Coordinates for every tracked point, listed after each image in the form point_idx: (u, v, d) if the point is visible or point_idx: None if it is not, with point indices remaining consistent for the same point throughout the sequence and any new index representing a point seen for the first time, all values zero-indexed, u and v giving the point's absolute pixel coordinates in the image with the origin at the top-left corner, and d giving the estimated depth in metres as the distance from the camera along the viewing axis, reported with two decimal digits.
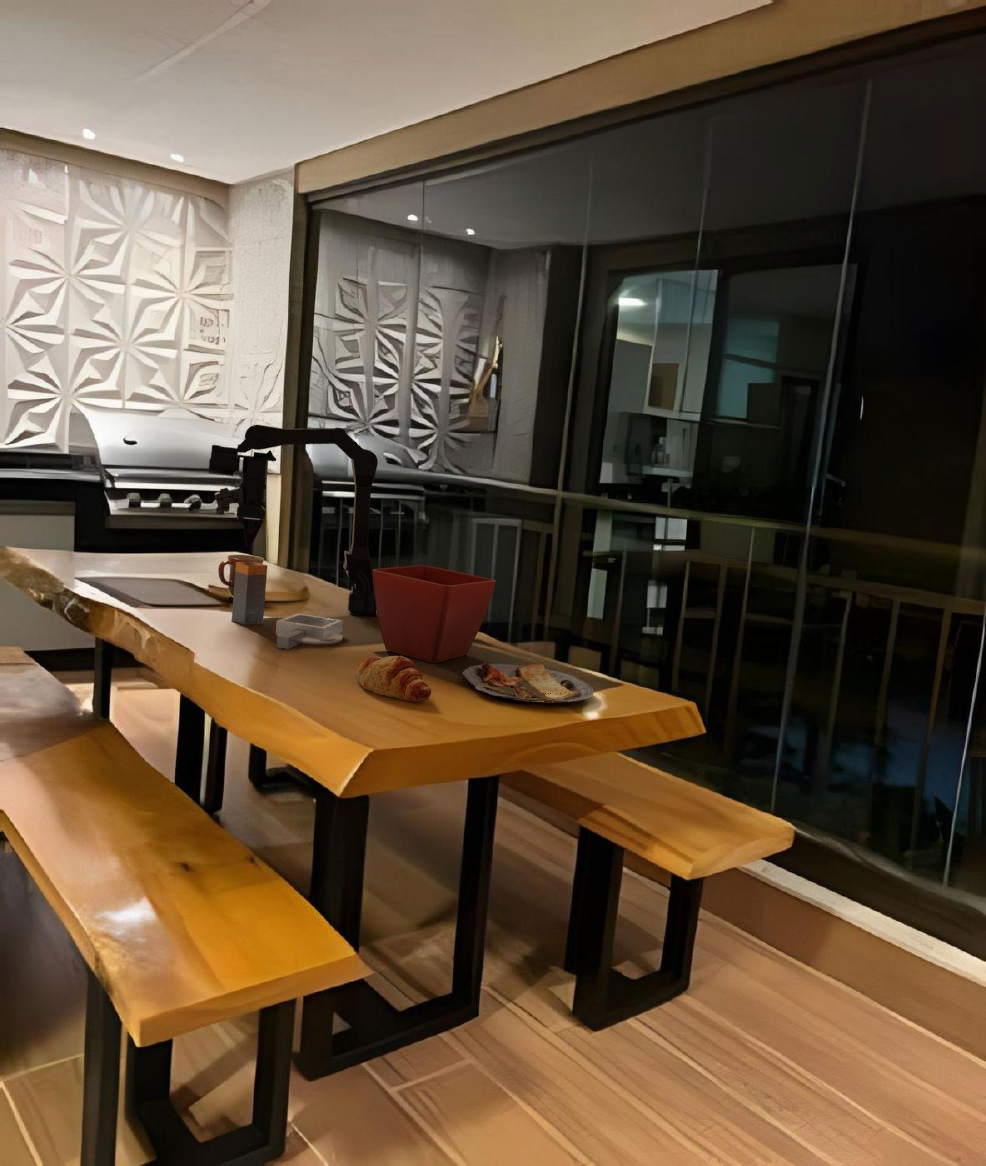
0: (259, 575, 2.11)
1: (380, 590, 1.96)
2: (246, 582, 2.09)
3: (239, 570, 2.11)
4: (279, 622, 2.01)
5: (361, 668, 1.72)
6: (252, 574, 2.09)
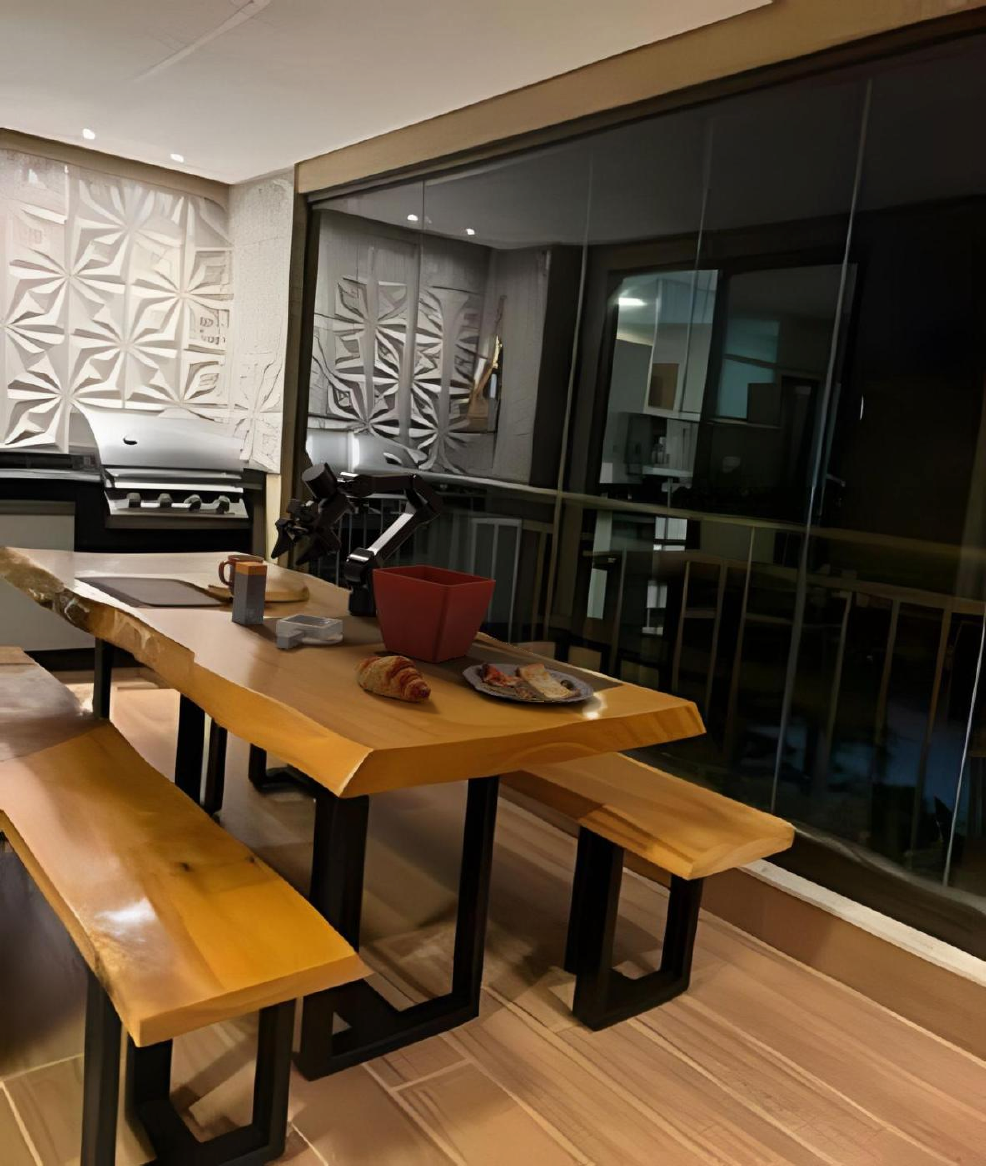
0: (259, 575, 2.11)
1: (380, 590, 1.96)
2: (246, 582, 2.09)
3: (239, 570, 2.11)
4: (279, 622, 2.01)
5: (361, 668, 1.72)
6: (252, 574, 2.09)
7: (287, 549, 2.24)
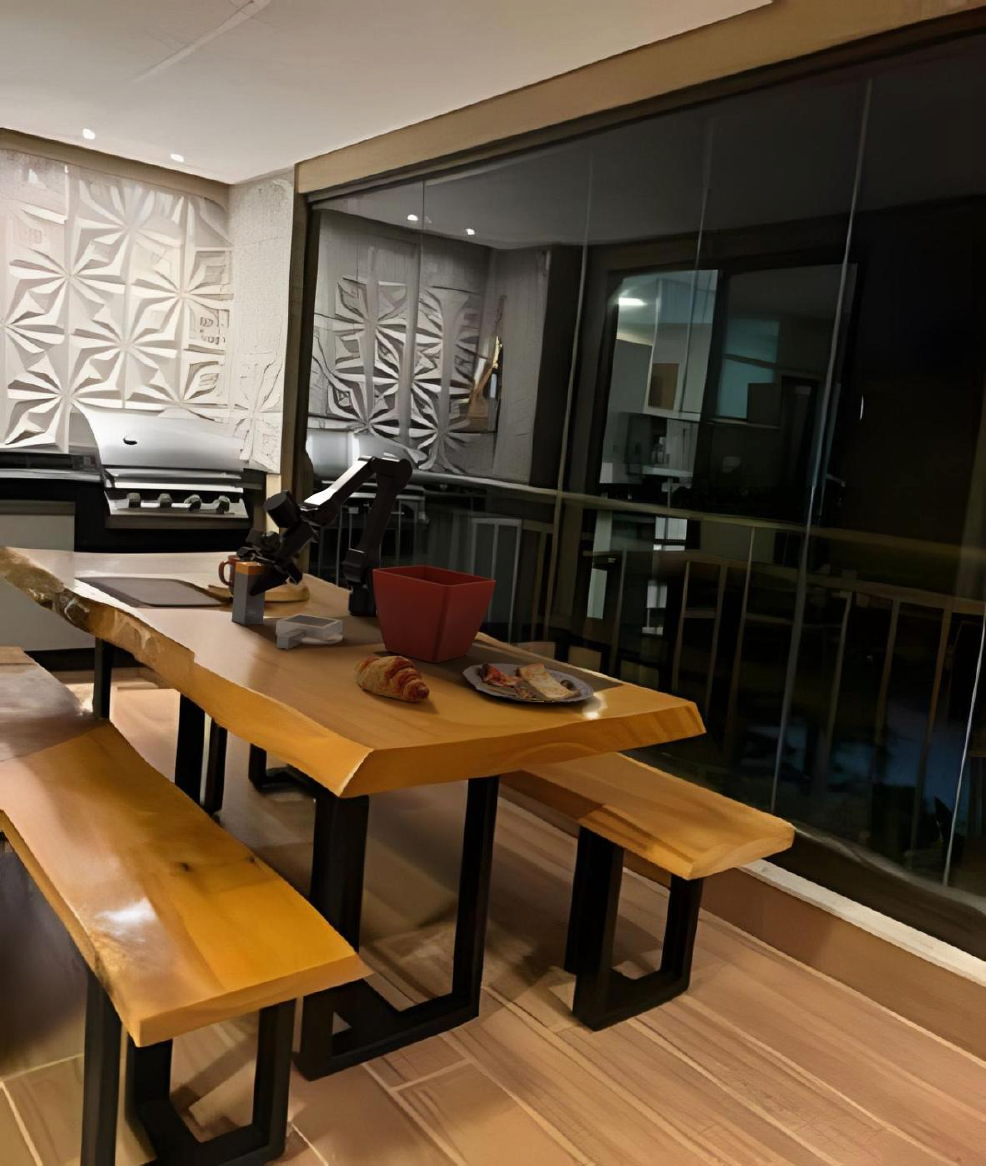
0: (259, 575, 2.11)
1: (380, 590, 1.96)
2: (246, 582, 2.09)
3: (239, 570, 2.11)
4: (279, 622, 2.01)
5: (360, 668, 1.72)
6: (252, 574, 2.09)
7: None
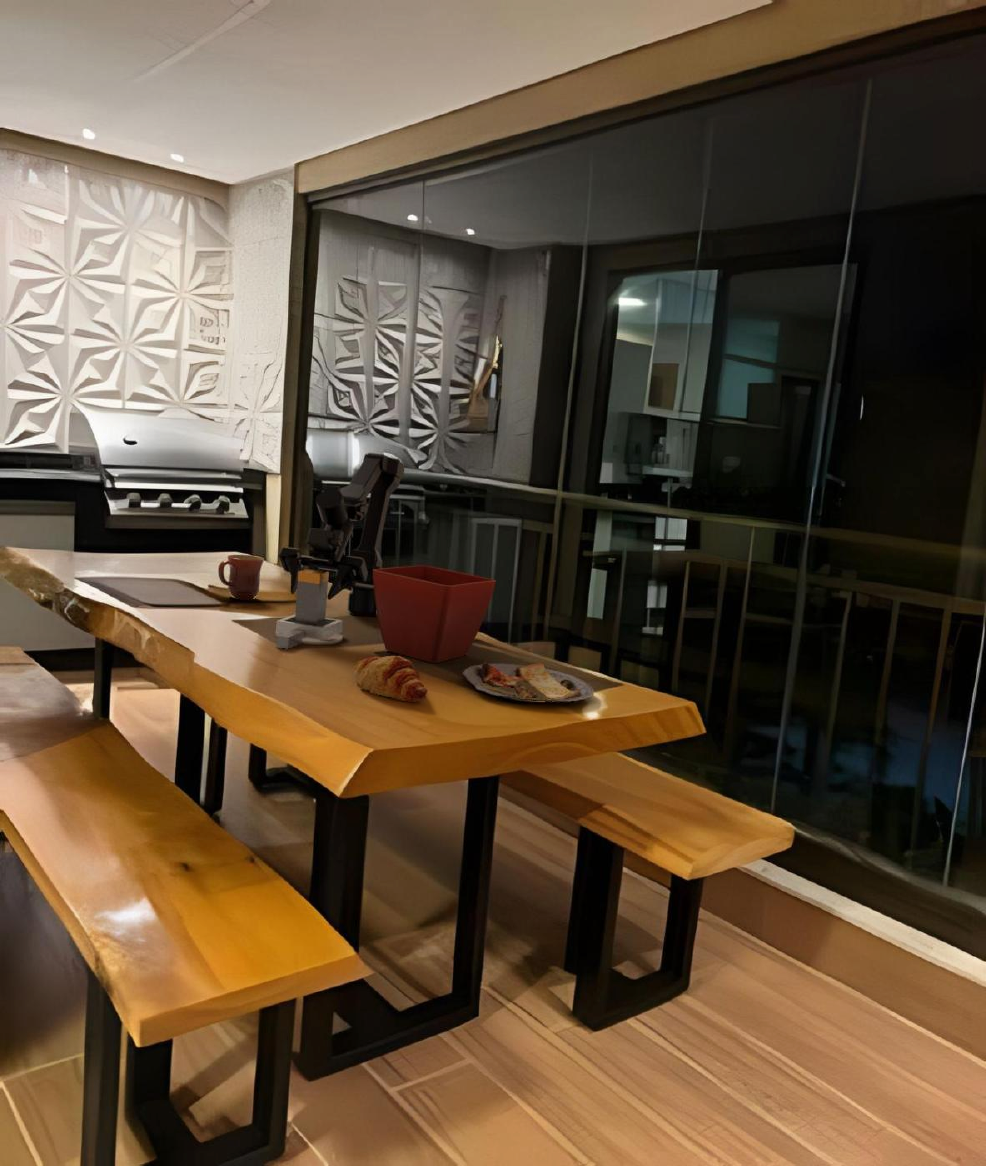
0: (324, 582, 2.04)
1: (380, 590, 1.96)
2: (317, 591, 2.01)
3: (304, 579, 2.02)
4: (279, 622, 2.01)
5: (359, 668, 1.72)
6: (321, 582, 2.02)
7: None
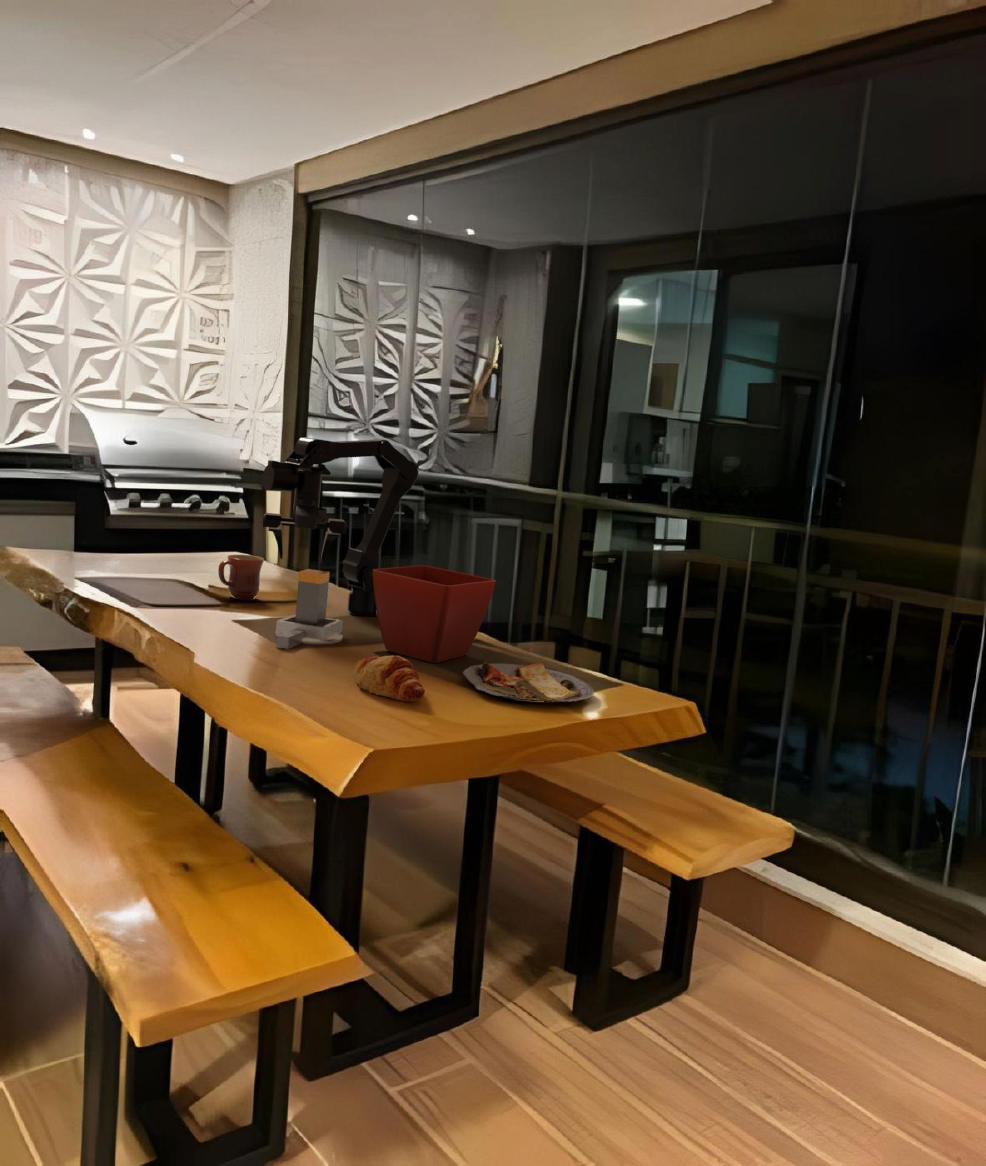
0: (325, 582, 2.04)
1: (380, 590, 1.96)
2: (317, 592, 2.02)
3: (305, 579, 2.02)
4: (279, 622, 2.01)
5: (358, 667, 1.72)
6: (322, 582, 2.02)
7: None
